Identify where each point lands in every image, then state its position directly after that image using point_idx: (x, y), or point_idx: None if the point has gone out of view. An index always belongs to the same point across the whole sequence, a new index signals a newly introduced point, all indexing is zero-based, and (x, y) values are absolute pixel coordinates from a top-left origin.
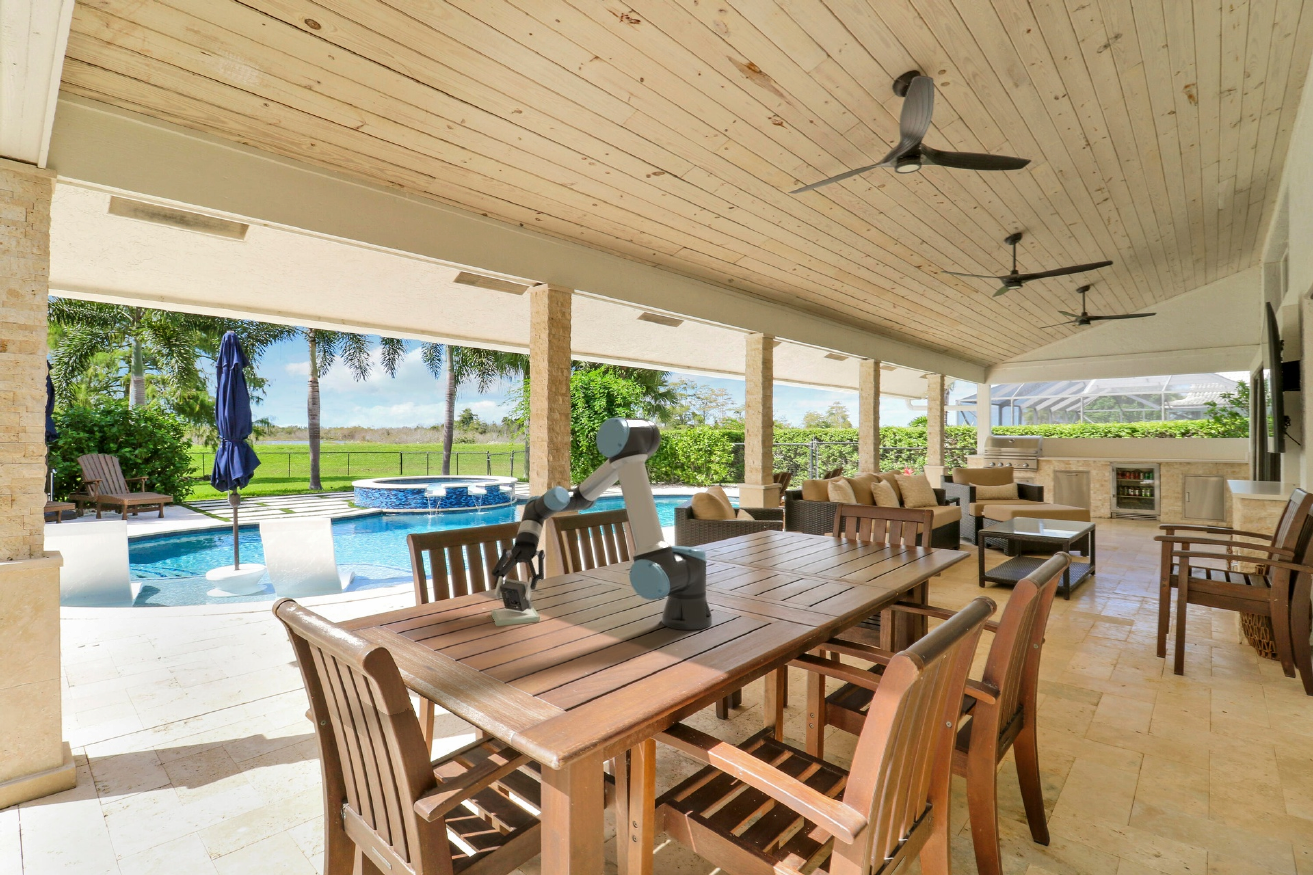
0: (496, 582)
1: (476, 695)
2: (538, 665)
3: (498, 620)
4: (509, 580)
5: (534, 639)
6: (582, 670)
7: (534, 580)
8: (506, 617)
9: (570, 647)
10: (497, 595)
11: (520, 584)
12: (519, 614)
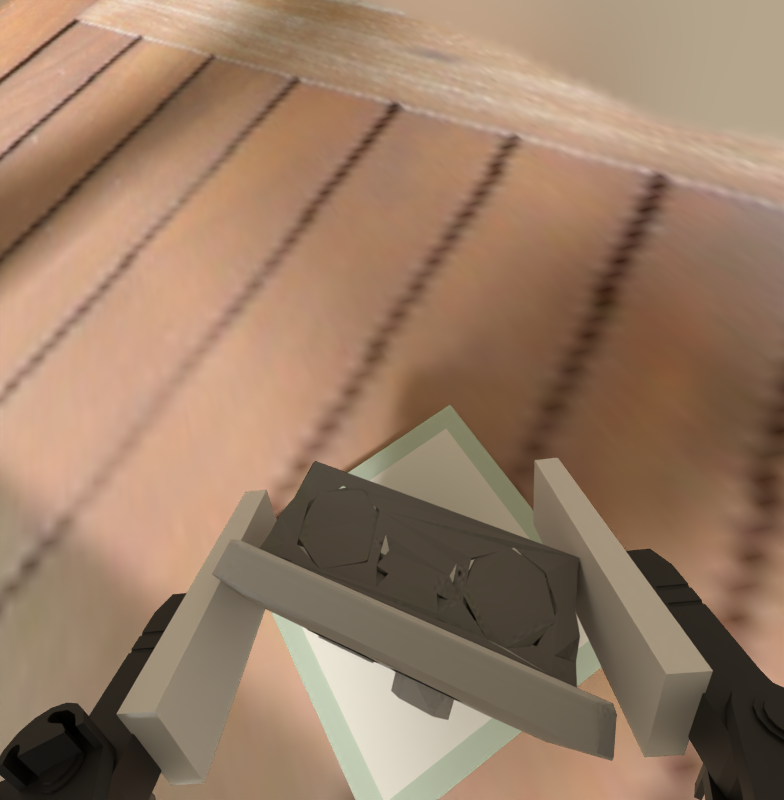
0: (672, 598)
1: (252, 8)
2: (157, 139)
3: (446, 420)
4: (499, 655)
5: (215, 302)
6: (43, 146)
7: (120, 695)
8: (426, 476)
9: (78, 267)
10: (536, 490)
11: (305, 565)
12: None
